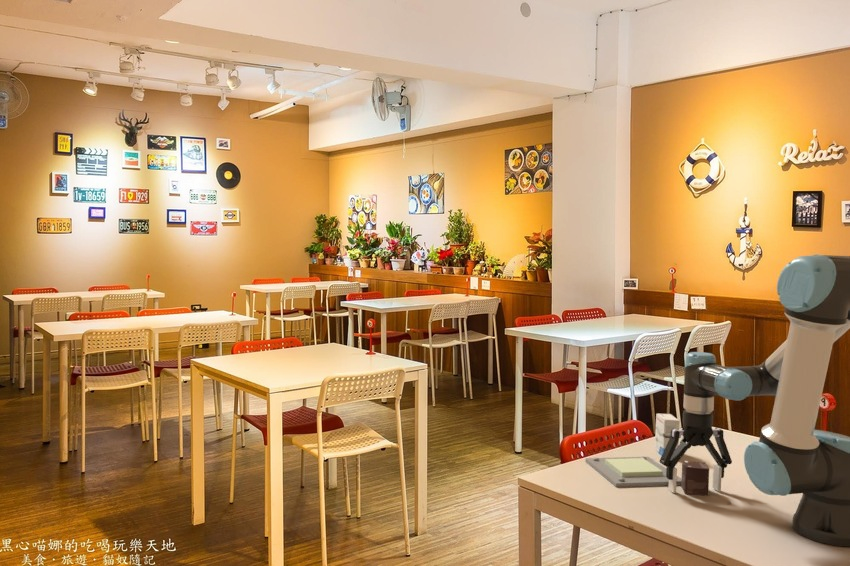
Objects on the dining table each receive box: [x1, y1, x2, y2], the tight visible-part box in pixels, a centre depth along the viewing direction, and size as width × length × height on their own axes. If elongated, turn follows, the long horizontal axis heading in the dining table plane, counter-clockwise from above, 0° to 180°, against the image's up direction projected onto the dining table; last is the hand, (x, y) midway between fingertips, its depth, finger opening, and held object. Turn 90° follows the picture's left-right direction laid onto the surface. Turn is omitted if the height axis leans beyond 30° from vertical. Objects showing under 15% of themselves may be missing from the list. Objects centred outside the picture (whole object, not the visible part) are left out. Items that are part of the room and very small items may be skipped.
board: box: [584, 456, 682, 488], centre depth 203 cm, size 22×20×2 cm
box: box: [680, 460, 710, 496], centre depth 189 cm, size 6×6×7 cm
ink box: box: [654, 413, 680, 456], centre depth 222 cm, size 8×5×12 cm, turn 179°
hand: (694, 490), depth 189 cm, fingers open, 12 cm apart
